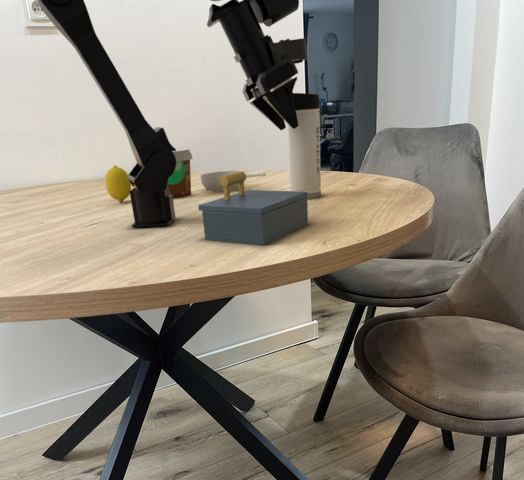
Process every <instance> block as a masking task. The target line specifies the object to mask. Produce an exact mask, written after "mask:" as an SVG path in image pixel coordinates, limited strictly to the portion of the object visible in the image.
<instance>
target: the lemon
mask: <svg viewBox="0 0 524 480" xmlns="http://www.w3.org/2000/svg"><path fill="white" fill-rule="evenodd" d="M128 174H129V173H127V171H125V169H123V168H121V167H119V166H118V165H113V166H112V167H111V168H109V169H108V170H107V171H106V174H105V177H104V178H105V179H104V184H105V190H106V192H107V193H108V195H109V196H110V197H111V198H112V199H114V200H117V201H118V202H119V203H123V202H124V201H125V200H126V199H127V198H129V197H130V192H129V190H131V189H132V185H131V183H130V181H129V179H128V177H127V176H128Z"/></svg>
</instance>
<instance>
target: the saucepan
mask: <svg viewBox="0 0 524 480" xmlns="http://www.w3.org/2000/svg"><path fill="white" fill-rule="evenodd" d="M237 172H244V173H245V174H246V178H251V177H265V176H266V175H267V174H266V173H265V172H264V173H263V172H262V173H246V172H245V171H243V170H242V171H241V170H223V171H214V172H207V173H203V174H200V175H199V177H200V181H201V184H202V186H203V187H204V189H205V190H206V192H208V193H209V192H210V193H224V188H223V186H222V185H221V184H220V178H221V177H222V176H226V175H229V174H233V173H237ZM229 189H230V192H234V191H237V190H238V191H239V188H238V183H237V184H234V185H230V186H229Z"/></svg>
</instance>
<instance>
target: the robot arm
mask: <svg viewBox="0 0 524 480" xmlns="http://www.w3.org/2000/svg"><path fill="white" fill-rule="evenodd" d="M210 1H211V2H221V1H222V0H210ZM37 2H38V4H39V7H40V10H42V12H43V13H44V14H45V16H46V17H47V18H48V19H49V20H50V22H51V23H52V25H54V27H55V28H56V29H57V30H58V31H59V32H60V33H61V35H62V36H63V37H64V38H65V39H66V40H67V41H68V42H69V43H70V45H71V46H72V47H73V48H74V49H75V51H76V53H77V54H78V56H79V57H80V59H81V61H82V62H83V64H84V66H85V67H86V69H87V71H88V72H89V74H90V75H91V77H92V79H93V81H94V82H95V85H96V86H97V87H98V89H99V90H100V92H101V93H102V95H103V97H104V98H105V100H106V102H107V103H108V105H109V108H111V110H112V112H113V113H114V116H115V117H116V118H117V120H118V122H119V123H120V125H121V127H122V128H123V130H124V132H125V134H126V137H127V140H128V143H129V146H130V149H131V151H132V153H133V157H134V159H135V162H136V163H135V165H134V166H133V168H132V169H130V172H129V173H127V174H128V176H127V177H128V179H129V181H130V183H131V187H133V188H131V190H129V192H130V194H129V197H130V203H131V208H132V214H133V220H134V222H133V223H132V224H131V228H150V227H151V228H152V227H154V228H155V227H167V226H169V225H170V224H171V223H172V222H173V221H175V220H176V211H175V204H174V199H173V196H172V195H171V194H170V195H169V188H168V186H167V183H168V178H169V177H170V176H171V175H172V174H173V172H174V171H175V168H176V163H177V162H176V158H175V155H174V153H173V152H175V151H177V148H176V147H174V146H173V145H172V144H171V142H170V140H169V138H168V136H167V133H166V131H165V128H164V127H160V126H156V127H154V128H153V127H152V126H151V124H150V123H149V122H148V121H147V120H146V118H145V116H144V115H143V113H142V111H141V110H140V108H139V106H138V104H137V102H136V100H135V99H134V98H133V95H132V94H131V92H130V91H129V88H128V87H127V86H126V84H125V82H124V80H123V79H122V76H121V75H120V73H119V72H118V70H117V68H116V66H115V65H114V63H113V61H112V60H111V58H110V56H109V54H108V53H107V51H106V49H105V47H104V46H103V44H102V42H101V40H100V39H99V37H98V36H97V33H96V31H95V28H94V25H93V22H92V20H91V16H90V13H89V11H88V8H87V5H86V1H85V0H37ZM299 7H300V0H240V1H239V0H228V1H227V2H225V3H223V4H222V5H217V4H215V3H212V4H211V5H210V7H209V9H208V10H209V12H208V13H209V14H208V19H207V22H206V26H207V27H208V28H211V27H213V26H214V25H216V24H218V23H219V24H220V26H221V28H222V30H223V32H224V34H225V36H226V38H227V41H228V42H229V45H230V46H231V48H232V50H233V52H234V55H235V56H233V58H234V60H235V62H236V64H238V63H239V65H240V67H241V70H242V71H243V73H244V75H245V77H246V80H245V84H243V88H242V94H243V96H244V98H245V100H246V102H249V101H250V102H249V104H250V105H251V106H252V107H254V109H256V110H257V111H258V112H260V114H262V115H263V116H264V117H265V118H266V119H267V120H269V121H270V122H271V123H272V124H273V125H274V126H275V127H276V128H278V130H280V131H283V130H285V129H286V128H287V126H288V125H289V126H290V127H291V128H292V129H295V128H296V127H298V120H297V115H296V110H295V104H294V99H293V93H294V88H295V85H296V82H297V81H298V76H296V75H297V74H299V70H298V68H297V66H296V64H301V63H304V60H305V61H307V60H308V56H307V55H308V53H307V45H306V38H305V37H304V38H294V39H290V38H287V39H284V40H283V39H280V40H279V41H277V42H274V41H273V39H272V37H271V36H270V35H269V34H266V35H265V33H264V31H263V28H262V27H261V24H263V25H264V26H266V27H268V28H270V27H271V26H273V25H275V24H277V23H278V22H280V21H282V20H283V19H285V18H286V17H288V16H290V15H291V14H294V13H295V12H296V11H298V9H299ZM294 76H295V77H294ZM286 124H287V126H286Z"/></svg>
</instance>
